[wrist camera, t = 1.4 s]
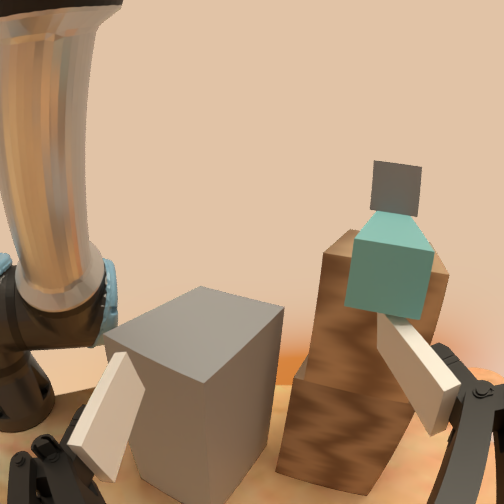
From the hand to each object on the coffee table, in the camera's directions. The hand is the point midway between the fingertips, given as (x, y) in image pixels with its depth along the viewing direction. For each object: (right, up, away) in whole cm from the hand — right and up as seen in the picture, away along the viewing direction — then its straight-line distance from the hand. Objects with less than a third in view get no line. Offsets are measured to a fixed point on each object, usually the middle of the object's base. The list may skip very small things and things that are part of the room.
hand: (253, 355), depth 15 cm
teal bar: (+11, +5, +8) cm, 14 cm away
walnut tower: (+11, -22, +19) cm, 31 cm away
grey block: (-6, -21, +17) cm, 28 cm away
